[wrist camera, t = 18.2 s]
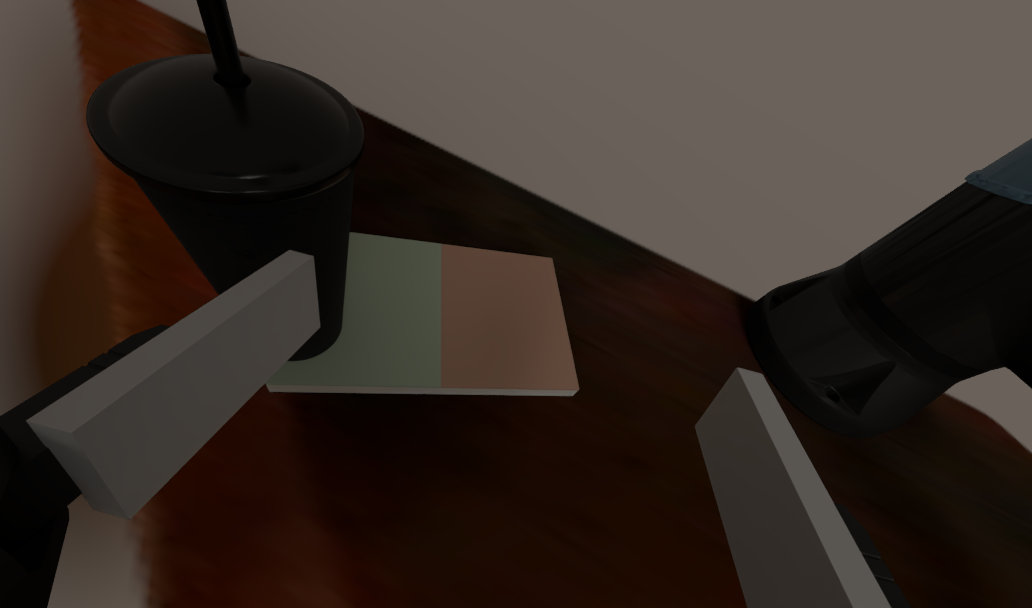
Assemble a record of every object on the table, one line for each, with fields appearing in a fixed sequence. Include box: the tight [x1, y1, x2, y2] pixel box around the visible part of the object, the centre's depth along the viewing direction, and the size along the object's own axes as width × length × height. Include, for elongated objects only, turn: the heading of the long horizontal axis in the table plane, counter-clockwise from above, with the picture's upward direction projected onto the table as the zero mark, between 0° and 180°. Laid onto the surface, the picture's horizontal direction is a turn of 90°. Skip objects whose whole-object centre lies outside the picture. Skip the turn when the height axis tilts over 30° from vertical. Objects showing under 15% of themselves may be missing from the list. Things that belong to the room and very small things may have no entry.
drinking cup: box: [86, 0, 364, 361], centre depth 16 cm, size 8×8×20 cm
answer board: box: [265, 232, 579, 396], centre depth 28 cm, size 19×12×1 cm, turn 96°
